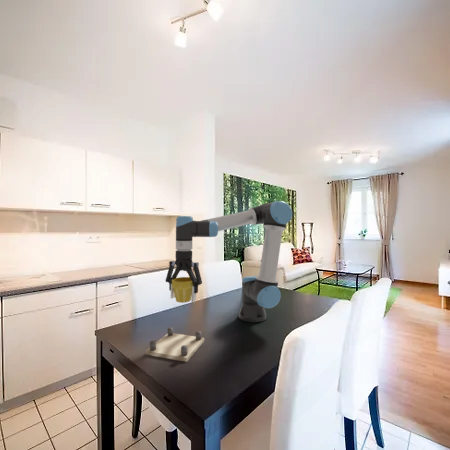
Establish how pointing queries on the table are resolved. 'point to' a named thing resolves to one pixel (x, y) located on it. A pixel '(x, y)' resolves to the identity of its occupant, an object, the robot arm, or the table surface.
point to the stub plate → (175, 346)
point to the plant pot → (182, 289)
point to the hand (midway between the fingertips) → (183, 299)
